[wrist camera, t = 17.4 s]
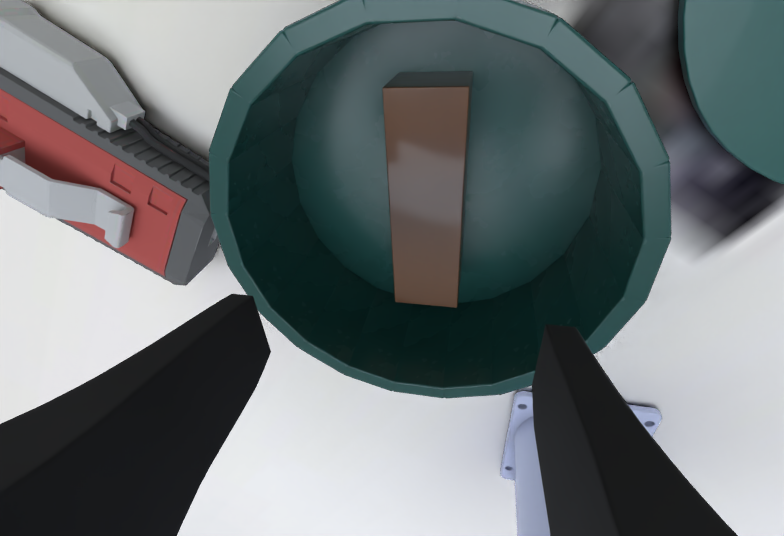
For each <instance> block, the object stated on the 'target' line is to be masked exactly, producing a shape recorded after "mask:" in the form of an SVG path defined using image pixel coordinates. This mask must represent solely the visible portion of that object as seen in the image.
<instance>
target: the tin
mask: <svg viewBox="0 0 784 536" xmlns="http://www.w3.org/2000/svg"><path fill="white" fill-rule="evenodd" d="M454 71H473V83H472V100H471V117H470V134H469V151H468V168H467V185H466V201H465V218H464V235H463V252H462V269H461V279H460V288H459V298H458V307H457V308H454V307H443V306H432V305H422V304H411V303H400V302H395V294H394V277H393V261H392V244H391V227H390V210H389V193H388V177H387V160H386V143H385V126H384V109H383V93H382V88H383V87H384V86H385V85H386V84H387V83H388V82H389V81H390V80H391V79H393V78H394V77H395V76H396V75H397V74H398V73H407V72H454ZM209 152H210V153H209V183H210V212H211V213H210V215H211V218H212V221H213V224H214V227H215V230H216V232H217V235H218V238H219V241H220V244H221V247H222V250H223V253H224V256H225V259H226V262H227V264H228V266H229V268H230V270H231V271H232V273H233V274H234V276H235V277H236V279H237V280H238V282H239V283H240V285H241V286H242V288H243V289H244V291H245V292H246V294H247V295H248V296H253V297H254V300H255V303H256V307H257V310H258V311H259V312H260V314H262V315H263V316H264V317H265V318H266V319H267V320H268V321H269V322H270V323H271V324H272V325H274V326H275V327H276V328H277V329H278V330H279V331H280V332H281V333H282V334H283V335H284V336H286V337H287V338H288V339H289V340H290V341H291V342H292V343H293V344H294V345H295V346H296V347H299V348H300V349H301V350H303V351H304V352H306V353H308V354H310V355H311V356H313V357H315V358H316V359H318V360H320V361H321V362H323V363H325V364H327V365H328V366H330V367H332V368H333V369H335V370H337V371H338V372H340V373H342V374H343V373H344V375H346V376H349V377H352V378H355V379H358V380H361V381H364V382H366V383H369V384H372V385H375V386H378V387H381V388H384V389H387V390H390V391H394V392H401V393H409V394H416V395H423V396H431V397H438V398H444V397H445V398H459V397H473V396H488V395H498V394H499V395H501V394H505V393H508V392H511V391H515V390H518V389H521V388H525V387H528V386H531V385H532V382H533V378H534V374H535V369H536V365H537V360H538V356H539V352H540V347H541V343H542V338H543V334H544V330H545V325H546V324H549V325H560V326H570V327H575V328H576V329H577V330H578V331H579V333H580V334H581V336H582V337H583V339H584V341H585V342H586V344H587V345H588V347H589V349H590V350H591V352H592V353H593V354H595V353H597V352H598V351H600V350H602V349H603V348H604V347H605V346H606V345H607V344H608V343H609V342H610V341H611V340H612V339H613V338H614V336H615V335H616V334H617V333H618V332H619V331H620V330H621V329H622V328H623V326H624V325H625V324H626V323H627V322H628V321H629V320H630V319H631V318H632V316H633V315H634V314H635V313H636V312H637V311H638V310H639V309H640V308H641V306H642V305H643V304H644V303H645V301H646V300H647V298H648V295H649V293H650V290H651V288H652V285H653V283H654V280H655V278H656V275H657V273H658V270H659V268H660V265H661V263H662V260H663V258H664V255H665V253H666V250H667V248H668V245H669V243H670V240H671V237H670V236H671V184H670V162H669V156H668V154H667V152H666V150H665V148H664V145H663V143H662V141H661V139H660V137H659V135H658V133H657V130H656V128H655V126H654V124H653V122H652V120H651V118H650V116H649V113H648V111H647V109H646V107H645V105H644V103H643V101H642V98H641V96H640V94H639V92H638V90H637V88H636V86H635V83H633V82H632V81H631V79H630V77H628V76H627V75H626V74H625V73H624V72H623V71H622V70H620V69H619V68H618V67H617V66H616V65H615V64H614V63H612V62H611V61H610V60H609V59H608V58H607V57H606V56H604V55H603V54H602V53H601V52H600V51H599V50H598V49H596V48H595V47H594V46H593V45H592V44H591V43H590V42H588V41H587V40H586V39H585V38H584V37H583V36H582V35H580V34H579V33H578V32H577V31H576V30H575V29H574V28H572V27H571V26H570V25H569V24H568V23H567V22H566V21H564V20H563V19H562V18H560V17H558V16H557V15H555V14H553V13H551V12H549V11H546V10H544V9H542V8H540V7H538V6H535V5H532V4H530V3H527V2H524V1H521V0H339V1H337V2H335V3H333V4H331V5H329V6H327V7H325V8H323V9H321V10H319V11H317V12H315V13H313V14H311V15H309V16H307V17H305V18H303V19H301V20H298V21H296V22H294V23H292V24H290V25H288V26H286V27H285V28H284V29H283V30H281V31H280V32H279V33H278V34H277V35H276V36H275V37H274V38H273V40H272V41H271V42H270V43H269V44H268V45H267V46H266V48H265V49H264V50H263V51H262V52H261V53H260V54H259V56H258V57H257V58H256V59H255V60H254V61H253V62H252V64H251V65H250V66H249V67H248V68H247V69H246V70H245V72H244V73H243V74H242V75H241V76H240V77H239V78H238V80H237V81H236V82H235V83H234V84H233V86H232V88H230V91H229V93H228V96H227V99H226V102H225V105H224V108H223V111H222V114H221V117H220V120H219V123H218V125H217V128H216V131H215V134H214V137H213V140H212V143H211V146H210V149H209Z"/></svg>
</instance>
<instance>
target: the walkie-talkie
mask: <svg viewBox="0 0 784 536" xmlns="http://www.w3.org/2000/svg"><path fill="white" fill-rule="evenodd" d="M144 116H145V111H144V110H143V109H142V108H141V106H140V105H139V103H138V102H137V100H136V99H135V97H134V96H133V94H132V93H131V91H130V90H129V88H128V87H127V85H126V84H125V82H124V81H123V79H122V78H121V76H120V75H119V73H118V72H117V70H116V69H115V67H114V66H113V64H112V63H111V62H110V61H109V60H108V59H107V58H106V57H104V56H103V55H101V54H100V53H98V52H97V51H95V50H94V49H92V48H90V47H89V46H87V45H86V44H84V43H83V42H81V41H79V40H78V39H76V38H75V37H73V36H72V35H70V34H68V33H67V32H65V31H64V30H62V29H61V28H59V27H57V26H56V25H54V24H53V23H51V22H50V21H48V20H47V19H45V18H43V17H42V16H40V14H39V13H38V12H37V10H36V9H35V8H33V7H32V6H30V5H29V4H27V3H26V2H24V1H22V0H0V189H3V190H5V191H6V193H7V195H9V196H10V197H12V198H14V199H16V200H18V201H19V202H21V203H23V204H25V205H27V206H28V207H30V208H32V209H34V210H36V211H37V212H39V213H41V214H43V215H44V216H46V217H50V218H55V219H57V220H59V221H61V222H63V223H64V224H66V225H69V226H71V227H73V228H74V229H75V230H77V231H80V232H82V233H84V234H85V235H86V236H89V237H91V238H92V239H94V240H95V241H97V242H100V243H101V244H103V245H105V246H106V247H109V248H110V249H112V250H114V251H115V252H117V253H119V254H121V255H123V256H124V257H126V258H127V259H130V260H132V261H134V262H135V263H136V264H139V265H141V266H143V267H144V268H145V269H148V270H150V271H152V272H153V273H154V274H156V275H159V276H161V277H162V278H163V279H165V280H168V281H170V282H171V283H173V284H175V285H185V286H186V285H187V284H188V283H189V282H190V281H191V280H192V279H193V278H194V277H195V276H196V275H197V274H198V273H199V272H200V271H201V270H202V269H203V268H204V267H205V266H206V265H207V264H208V263H209V262H210V261H211V260H213V258H214V255H215V252H216V250H217V247H218V244H219V242H220V241H219V238H218V235H217V232H216V230H215V227H214V224H213V221H212V218H211V215H210V213H211V212H210V183H209V161H206V160H205V159H203V158H202V157H201V156H199V155H196V154H195V153H193V152H192V151H191V150H190V149H187V148H185V147H184V146H182V145H181V144H180V143H178V142H175V141H174V140H172V139H171V138H170V137H169V136H166V135H164V134H163V133H161V132H160V131H159V130H157V129H154V128H153V127H152V126H151V124H149V123H148V122H147V121H146V120H144Z"/></svg>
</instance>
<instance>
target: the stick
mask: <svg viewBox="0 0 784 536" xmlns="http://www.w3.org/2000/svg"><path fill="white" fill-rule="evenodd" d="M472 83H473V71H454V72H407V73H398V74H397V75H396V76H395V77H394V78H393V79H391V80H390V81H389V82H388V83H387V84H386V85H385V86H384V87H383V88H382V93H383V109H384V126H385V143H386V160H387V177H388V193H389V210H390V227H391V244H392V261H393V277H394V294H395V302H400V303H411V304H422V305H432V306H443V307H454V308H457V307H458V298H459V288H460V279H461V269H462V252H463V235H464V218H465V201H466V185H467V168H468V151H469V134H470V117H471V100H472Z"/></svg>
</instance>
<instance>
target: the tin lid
mask: <svg viewBox="0 0 784 536" xmlns="http://www.w3.org/2000/svg"><path fill="white" fill-rule="evenodd" d="M678 48H679V55H680V61H681V67H682V73H683V78H684V82H685V85H686V88H687V90H688V93H689V96H690V99H691V102H692V104H693V107H694V109H695V110H696V112H697V114H698V115H699V117H700V119H701V121H702V122H703V124H704V126H705V127H706V129H707V130H708V131H709V133H710V134H711V135H712V136H713V137H714V138H715V139H716V141H717V142H718V143H719V144H720V145H721V146H722V147H723V148H724V149H725V150H726V151H727V152H729V153H730V154H731V155H732V156H734V157H735V158H736V159H738V160H739V161H740V162H741V163H743V164H744V165H745V166H747V167H748V168H750V169H752V170H754V171H756V172H757V173H759V174H761V175H763V176H765V177H767V178H769V179H770V180H773V181H775V182H778V183H781V184H784V0H680V1H679V10H678Z"/></svg>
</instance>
